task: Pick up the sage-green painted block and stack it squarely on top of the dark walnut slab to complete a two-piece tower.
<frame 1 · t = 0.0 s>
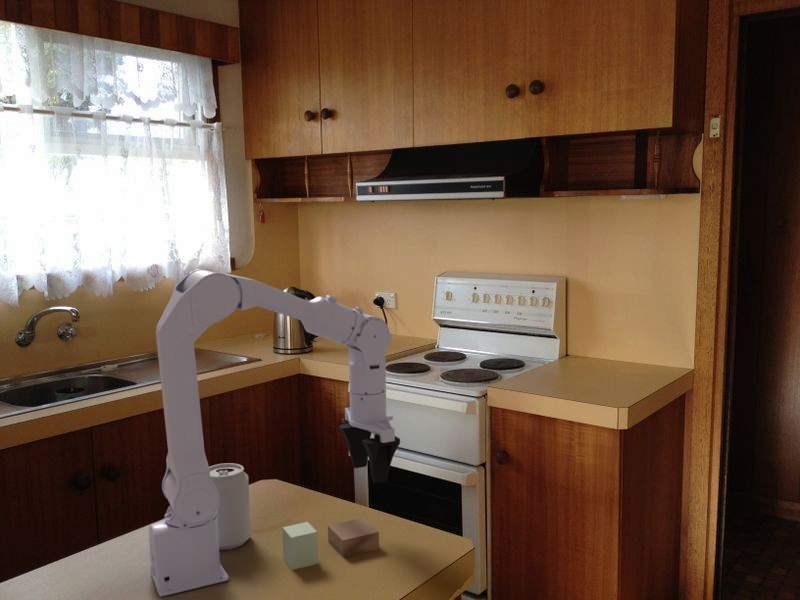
hand: (369, 474, 119), 10 cm above the counter, fingers open, 7 cm apart
can: (227, 542, 119), on the counter
walnut slab: (353, 547, 117), on the counter
green block: (300, 561, 112), on the counter
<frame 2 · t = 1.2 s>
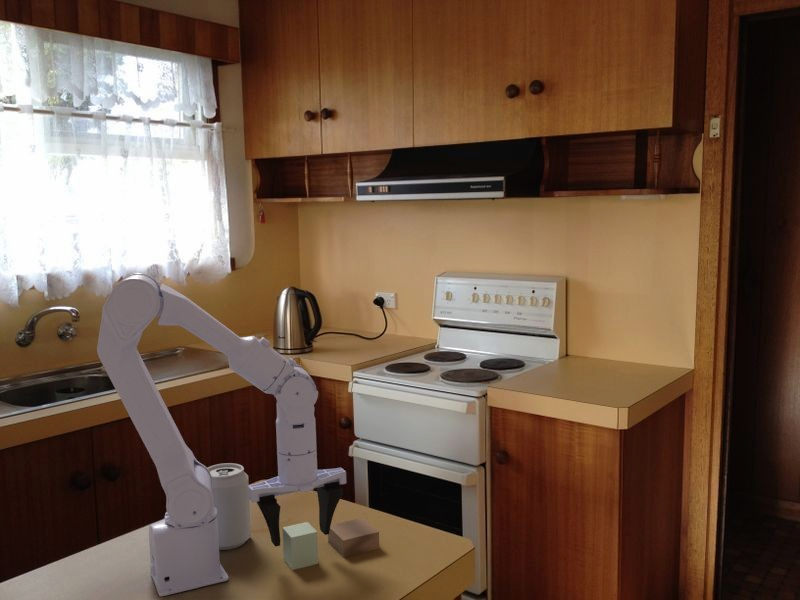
hand: (300, 537, 111), 4 cm above the counter, fingers open, 7 cm apart
nothing on the counter moved.
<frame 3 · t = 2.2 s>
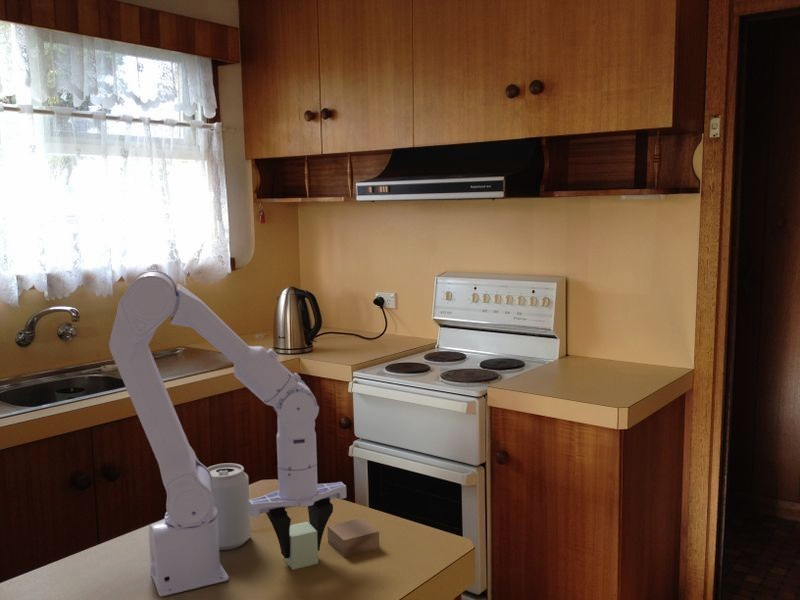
hand: (300, 551, 111), 1 cm above the counter, fingers closed on green block, 4 cm apart
green block: (300, 561, 112), on the counter, touching gripper
everything else where it was.
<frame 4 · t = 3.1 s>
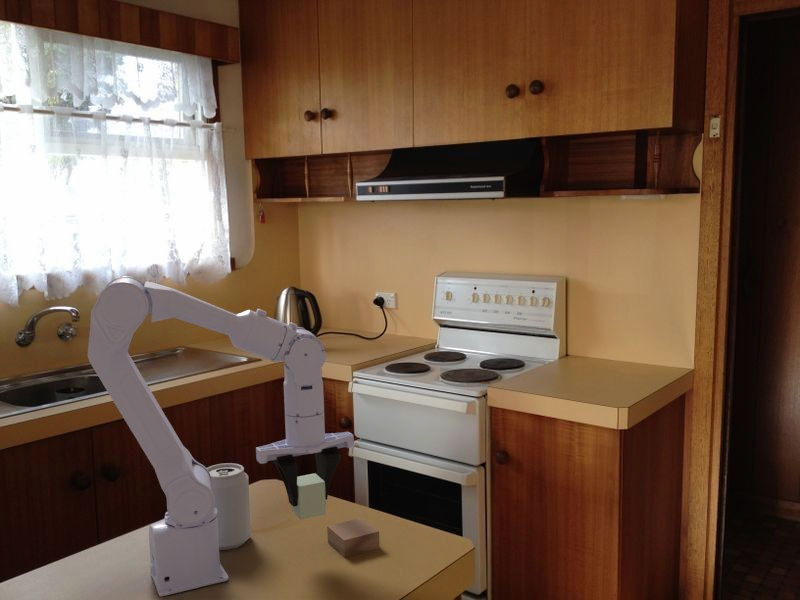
hand: (308, 500, 111), 9 cm above the counter, fingers closed on green block, 4 cm apart
green block: (308, 512, 111), point 7 cm above the counter, touching gripper
everything else where it was.
when the fingers open (5 cm above the counter, at t = 4.5 s): green block stays where it is, point 3 cm above the counter.
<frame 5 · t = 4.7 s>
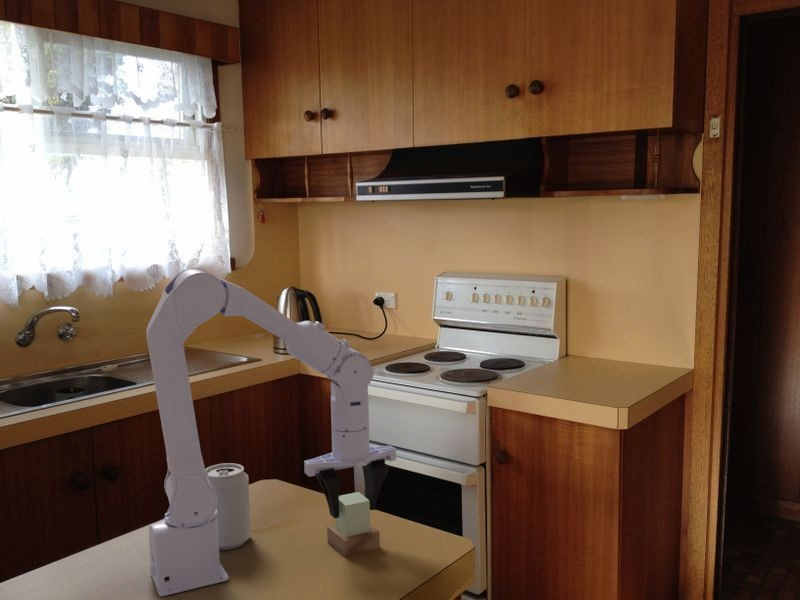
hand: (352, 511, 116), 5 cm above the counter, fingers open, 5 cm apart
green block: (352, 529, 116), point 3 cm above the counter
everything else where it was.
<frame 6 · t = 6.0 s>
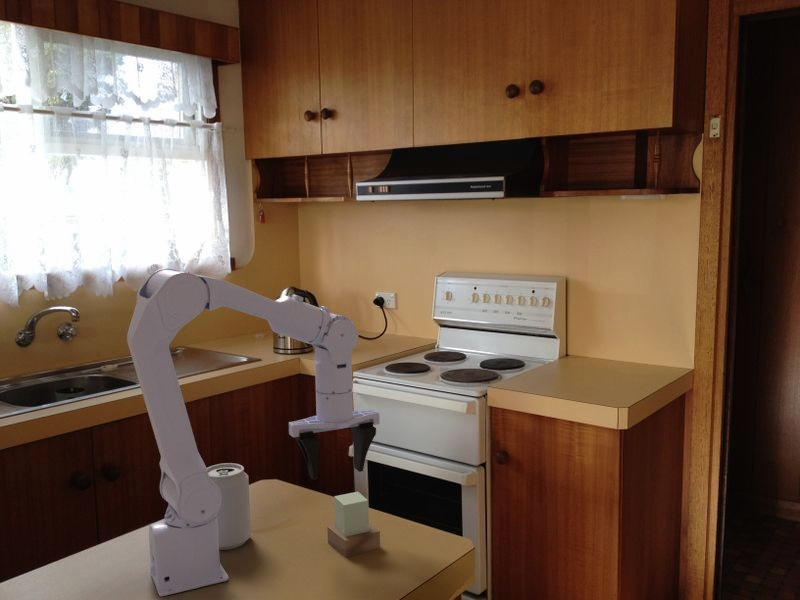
hand: (336, 473, 119), 10 cm above the counter, fingers open, 7 cm apart
walnut slab: (353, 547, 117), on the counter, touching green block
green block: (351, 529, 116), point 3 cm above the counter, touching walnut slab
everything else where it was.
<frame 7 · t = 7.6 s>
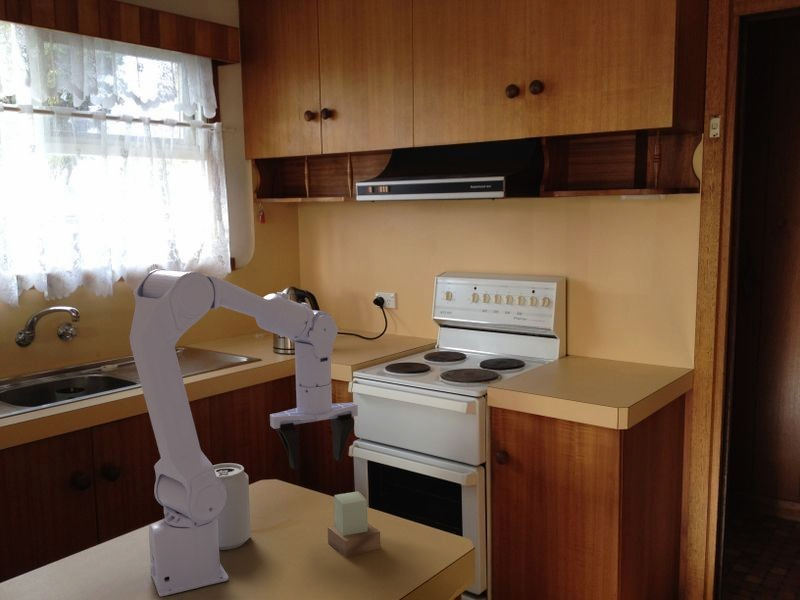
hand: (316, 463, 123), 10 cm above the counter, fingers open, 7 cm apart
nothing on the counter moved.
at the end: green block 0.4 cm off-centre on the walnut slab, point 3.0 cm above the walnut slab's base; green block tilted 1°; the gripper is holding nothing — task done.
